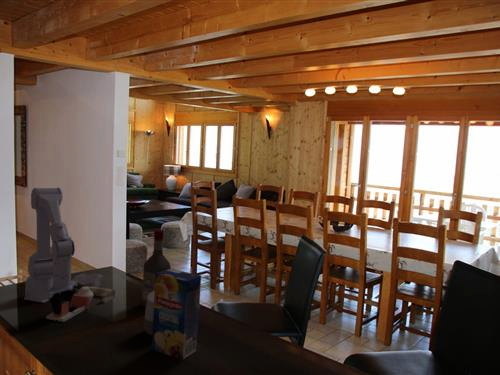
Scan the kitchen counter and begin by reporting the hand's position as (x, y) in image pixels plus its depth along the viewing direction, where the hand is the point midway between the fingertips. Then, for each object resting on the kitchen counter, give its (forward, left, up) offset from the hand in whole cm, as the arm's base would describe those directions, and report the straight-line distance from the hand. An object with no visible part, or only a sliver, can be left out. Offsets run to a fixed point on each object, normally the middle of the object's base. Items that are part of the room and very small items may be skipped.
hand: (61, 311), depth 152 cm
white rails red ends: (0, +4, -2) cm, 4 cm away
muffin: (0, +14, -2) cm, 14 cm away
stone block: (-13, +34, -2) cm, 36 cm away
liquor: (+25, +23, -2) cm, 34 cm away
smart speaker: (+37, +1, -2) cm, 37 cm away
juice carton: (+47, -8, -2) cm, 48 cm away
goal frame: (0, +21, -2) cm, 21 cm away
